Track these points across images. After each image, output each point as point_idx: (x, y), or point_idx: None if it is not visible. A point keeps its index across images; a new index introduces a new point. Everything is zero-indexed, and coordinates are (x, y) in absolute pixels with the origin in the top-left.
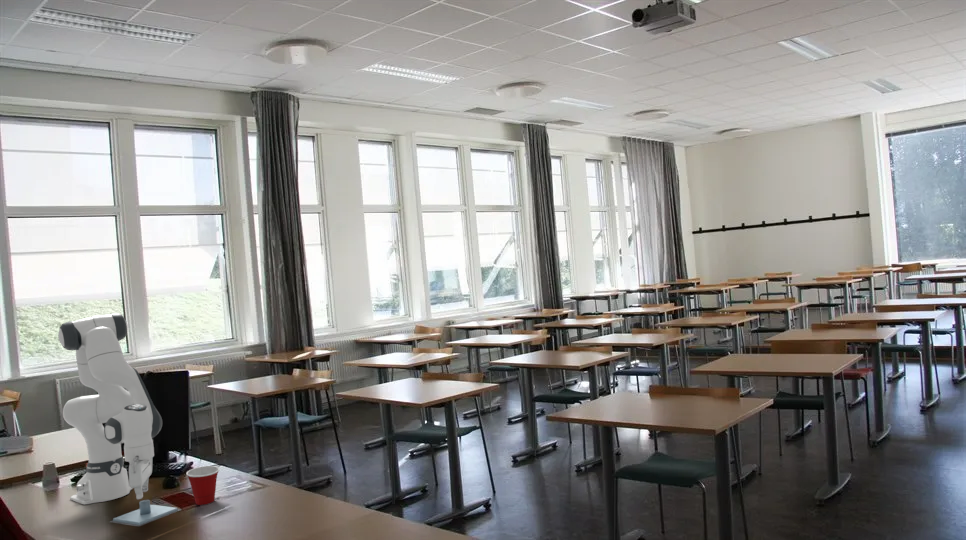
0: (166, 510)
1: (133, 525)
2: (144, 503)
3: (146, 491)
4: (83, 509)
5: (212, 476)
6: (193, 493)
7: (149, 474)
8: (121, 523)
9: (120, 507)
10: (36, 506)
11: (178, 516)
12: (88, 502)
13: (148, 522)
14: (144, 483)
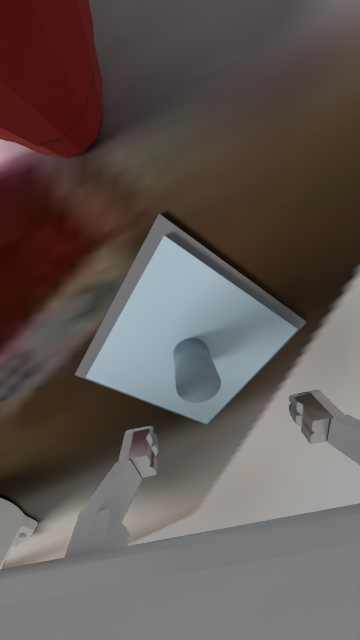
0: (188, 278)
1: (285, 343)
2: (218, 375)
3: (151, 426)
4: (71, 509)
5: None
6: (60, 115)
7: (102, 594)
8: (242, 387)
9: (65, 453)
10: None
11: (232, 204)
12: (31, 524)
13: (281, 304)
14: (124, 493)
